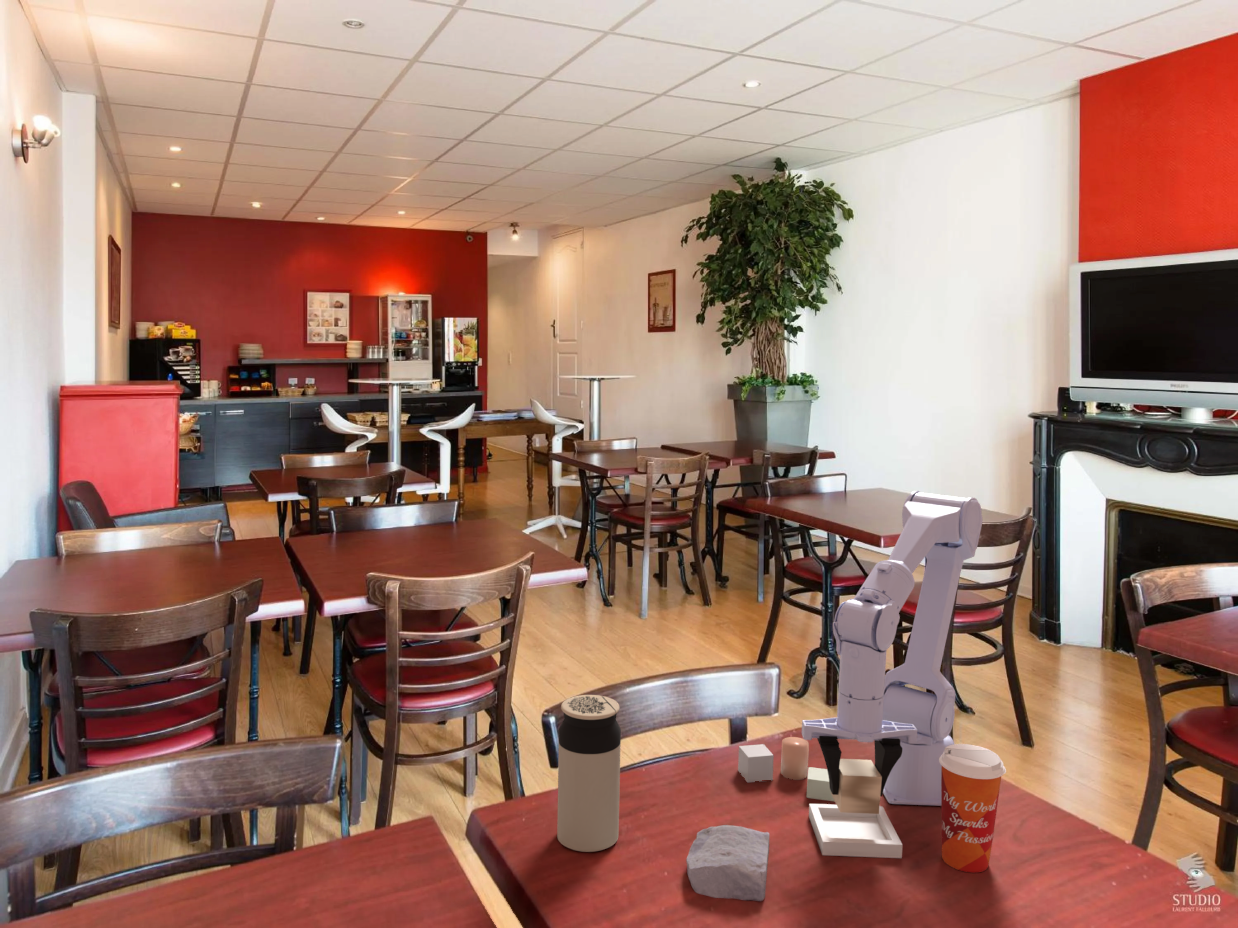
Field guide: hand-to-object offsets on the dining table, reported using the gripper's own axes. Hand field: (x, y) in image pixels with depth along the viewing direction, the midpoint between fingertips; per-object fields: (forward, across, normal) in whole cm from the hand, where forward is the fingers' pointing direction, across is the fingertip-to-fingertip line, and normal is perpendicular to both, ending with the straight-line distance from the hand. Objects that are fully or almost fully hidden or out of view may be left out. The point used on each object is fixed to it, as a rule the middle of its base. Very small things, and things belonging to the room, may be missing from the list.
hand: (855, 791), depth 120 cm
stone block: (+7, -17, -10) cm, 21 cm away
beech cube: (+2, 0, 0) cm, 2 cm away
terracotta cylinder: (+6, -5, +18) cm, 20 cm away
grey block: (+6, -11, +17) cm, 21 cm away
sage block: (+6, -2, +12) cm, 14 cm away
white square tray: (+6, 0, 0) cm, 6 cm away
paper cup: (+6, +13, -5) cm, 15 cm away
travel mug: (+6, -35, -3) cm, 36 cm away
